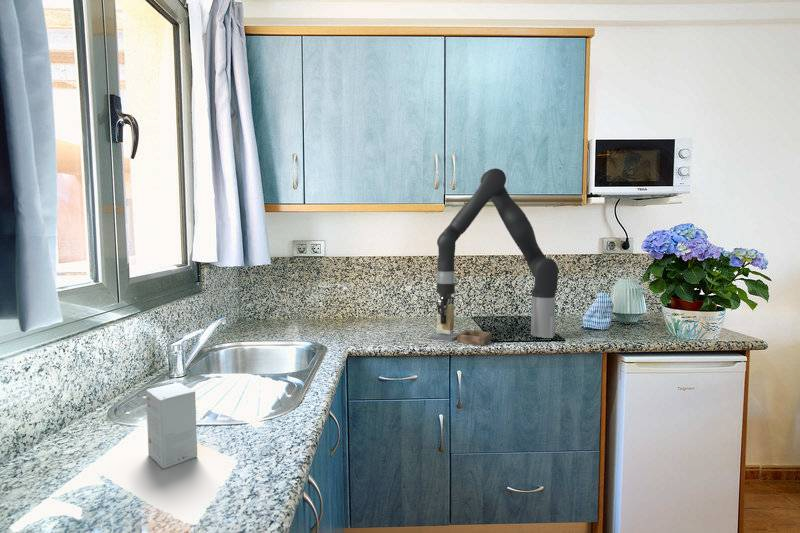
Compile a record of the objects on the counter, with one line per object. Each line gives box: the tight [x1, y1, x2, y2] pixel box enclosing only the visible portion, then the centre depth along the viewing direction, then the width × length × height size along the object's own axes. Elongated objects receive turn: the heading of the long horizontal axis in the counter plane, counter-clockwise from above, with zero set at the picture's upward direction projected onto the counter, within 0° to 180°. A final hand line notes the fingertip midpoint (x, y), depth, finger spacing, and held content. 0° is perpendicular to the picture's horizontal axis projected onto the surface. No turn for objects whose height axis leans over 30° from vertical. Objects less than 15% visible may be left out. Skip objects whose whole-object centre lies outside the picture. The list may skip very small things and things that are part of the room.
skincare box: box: [436, 304, 455, 334], centre depth 181 cm, size 6×4×12 cm
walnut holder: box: [456, 329, 492, 347], centre depth 175 cm, size 11×11×3 cm
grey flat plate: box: [428, 331, 460, 342], centre depth 182 cm, size 10×10×1 cm
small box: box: [145, 381, 198, 470], centre depth 84 cm, size 8×6×13 cm
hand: (445, 322), depth 181 cm, fingers closed on skincare box, 4 cm apart
